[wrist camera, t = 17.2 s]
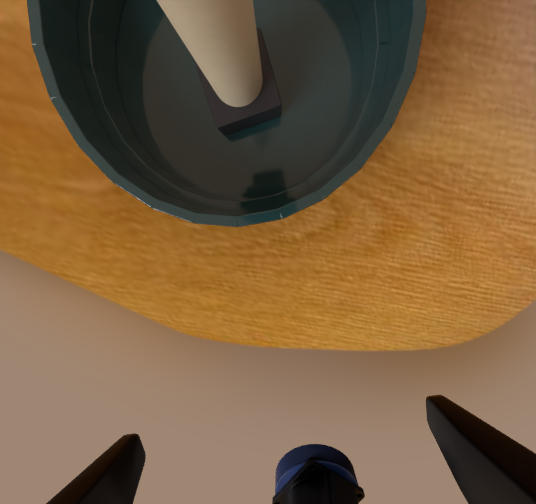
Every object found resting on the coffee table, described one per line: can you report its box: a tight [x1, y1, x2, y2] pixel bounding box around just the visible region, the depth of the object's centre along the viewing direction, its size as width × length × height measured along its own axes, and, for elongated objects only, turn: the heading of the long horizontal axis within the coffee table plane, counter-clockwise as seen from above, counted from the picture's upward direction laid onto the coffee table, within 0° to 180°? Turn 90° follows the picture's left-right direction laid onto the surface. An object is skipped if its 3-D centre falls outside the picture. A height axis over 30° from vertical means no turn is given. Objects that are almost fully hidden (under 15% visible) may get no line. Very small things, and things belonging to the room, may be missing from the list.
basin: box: [27, 0, 426, 227], centre depth 15 cm, size 18×18×6 cm
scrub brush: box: [157, 0, 282, 136], centre depth 10 cm, size 4×4×14 cm
